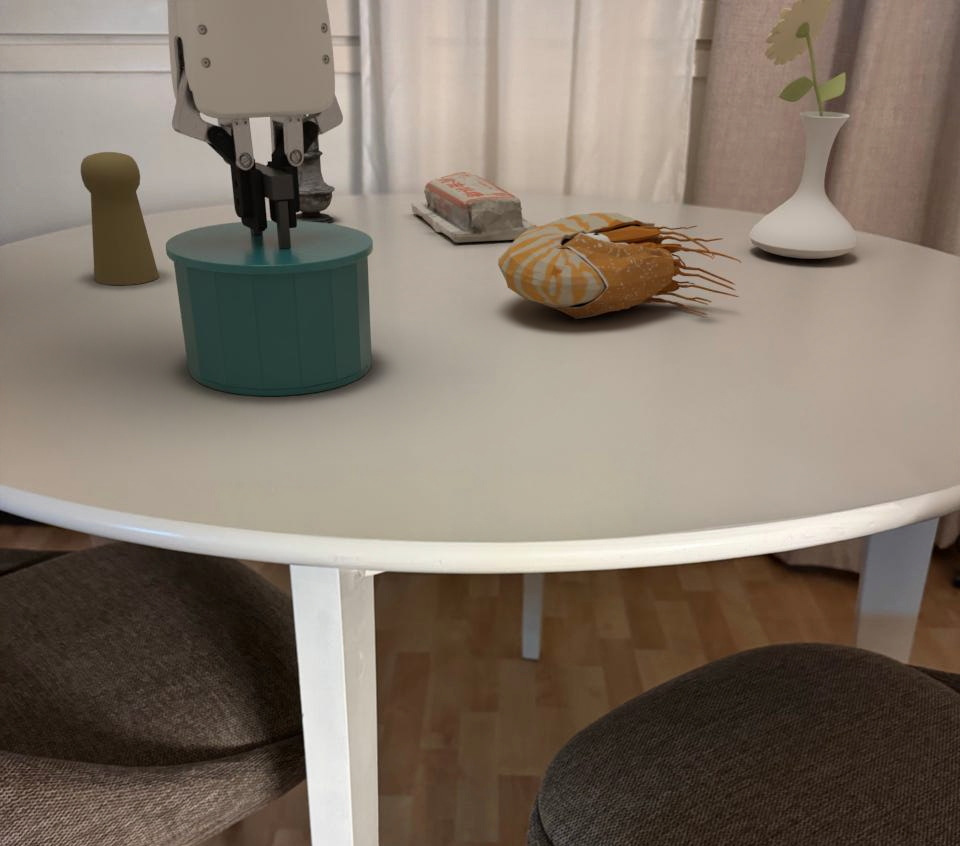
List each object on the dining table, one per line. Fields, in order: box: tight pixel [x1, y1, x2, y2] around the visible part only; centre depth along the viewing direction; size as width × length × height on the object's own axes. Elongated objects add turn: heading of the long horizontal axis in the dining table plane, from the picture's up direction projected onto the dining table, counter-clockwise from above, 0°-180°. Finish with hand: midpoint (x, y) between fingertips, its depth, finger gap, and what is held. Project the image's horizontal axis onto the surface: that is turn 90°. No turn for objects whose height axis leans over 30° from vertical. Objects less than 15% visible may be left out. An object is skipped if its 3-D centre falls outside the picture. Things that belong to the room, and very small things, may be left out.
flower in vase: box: [748, 0, 859, 260], centre depth 108 cm, size 13×11×25 cm
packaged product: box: [411, 171, 537, 244], centre depth 124 cm, size 18×5×10 cm
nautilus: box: [497, 212, 742, 320], centre depth 93 cm, size 8×22×15 cm
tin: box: [173, 256, 373, 397], centre depth 79 cm, size 14×14×8 cm
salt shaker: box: [296, 115, 336, 224], centre depth 123 cm, size 6×6×12 cm
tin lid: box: [165, 161, 374, 275], centre depth 75 cm, size 15×15×6 cm
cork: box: [80, 151, 160, 286], centre depth 100 cm, size 6×6×11 cm
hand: (269, 224), depth 76 cm, fingers closed on tin lid, 1 cm apart
